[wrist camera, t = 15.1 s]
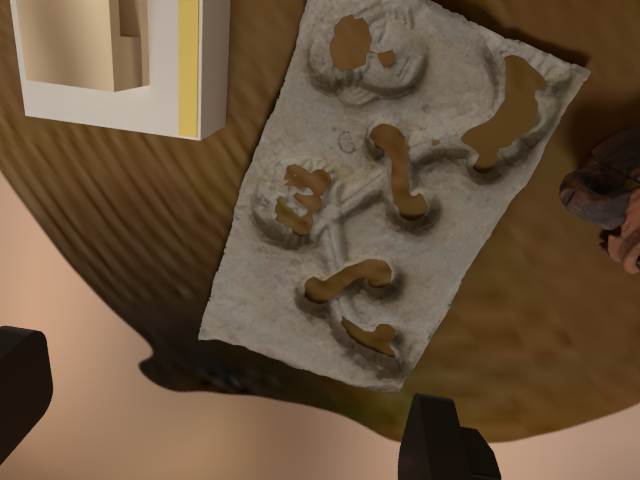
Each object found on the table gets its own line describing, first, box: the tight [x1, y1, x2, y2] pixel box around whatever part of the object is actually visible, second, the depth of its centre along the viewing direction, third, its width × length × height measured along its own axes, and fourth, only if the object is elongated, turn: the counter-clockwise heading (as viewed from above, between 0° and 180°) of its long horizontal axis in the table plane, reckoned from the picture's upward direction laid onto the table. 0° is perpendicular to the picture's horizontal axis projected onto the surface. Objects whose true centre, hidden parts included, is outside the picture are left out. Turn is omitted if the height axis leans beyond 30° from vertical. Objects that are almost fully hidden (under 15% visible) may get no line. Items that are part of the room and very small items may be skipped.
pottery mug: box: [559, 126, 640, 274], centre depth 33 cm, size 12×10×8 cm
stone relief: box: [198, 0, 591, 393], centre depth 37 cm, size 32×3×20 cm
